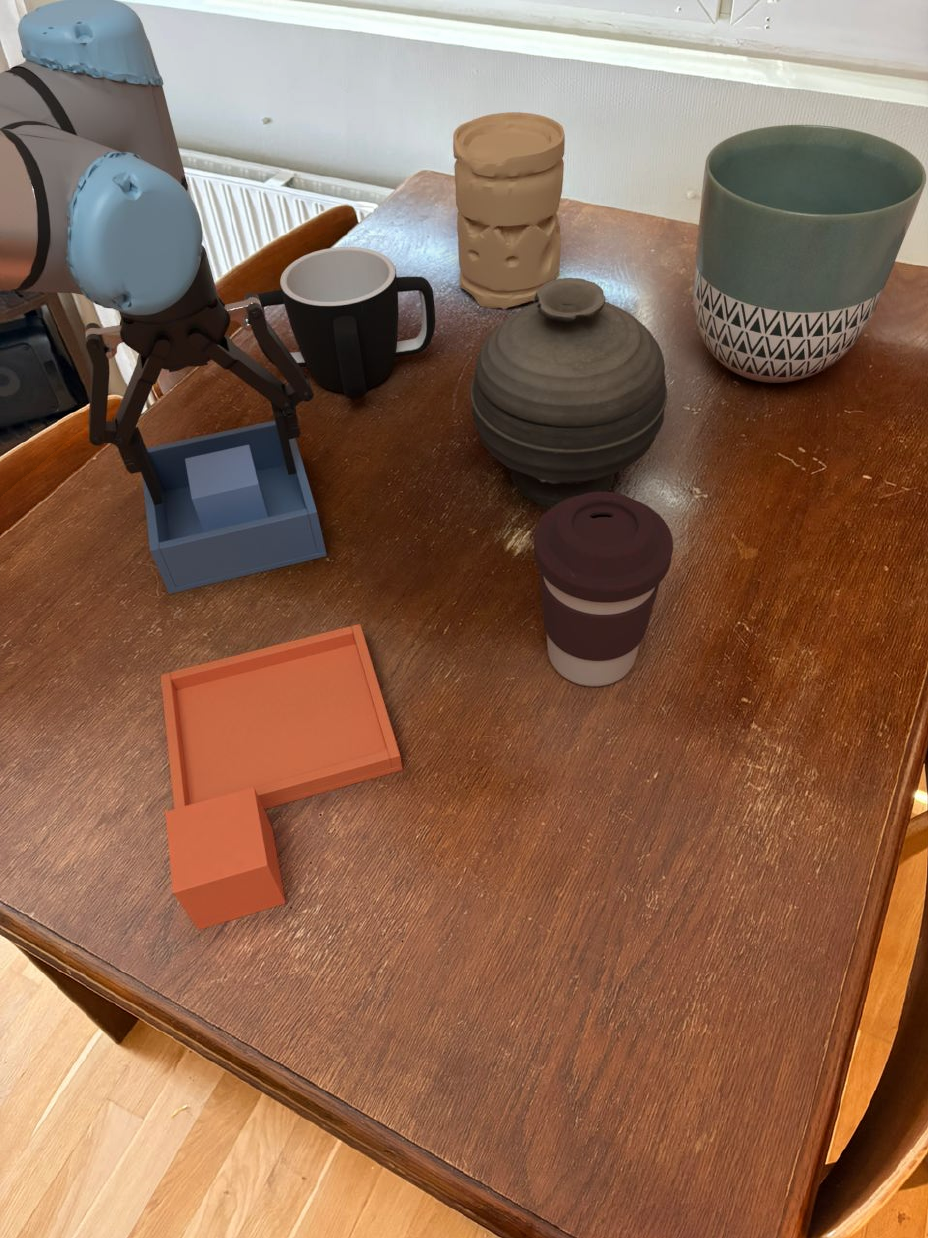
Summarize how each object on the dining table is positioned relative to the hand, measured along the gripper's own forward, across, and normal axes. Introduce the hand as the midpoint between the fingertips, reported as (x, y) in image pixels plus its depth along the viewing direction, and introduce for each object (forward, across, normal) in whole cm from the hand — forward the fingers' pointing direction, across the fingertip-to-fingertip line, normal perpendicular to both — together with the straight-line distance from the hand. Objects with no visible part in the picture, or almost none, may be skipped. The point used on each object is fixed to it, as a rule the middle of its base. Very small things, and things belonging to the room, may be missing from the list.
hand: (224, 480), depth 83 cm
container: (+6, -39, -33) cm, 51 cm away
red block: (+6, +5, +36) cm, 37 cm away
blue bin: (+6, 0, 0) cm, 6 cm away
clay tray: (+6, 0, +25) cm, 26 cm away
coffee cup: (+6, -26, +26) cm, 37 cm away
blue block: (+5, 0, 0) cm, 5 cm away
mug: (+6, -16, -21) cm, 27 cm away
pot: (+6, -32, +4) cm, 33 cm away
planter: (+6, -60, -6) cm, 61 cm away
